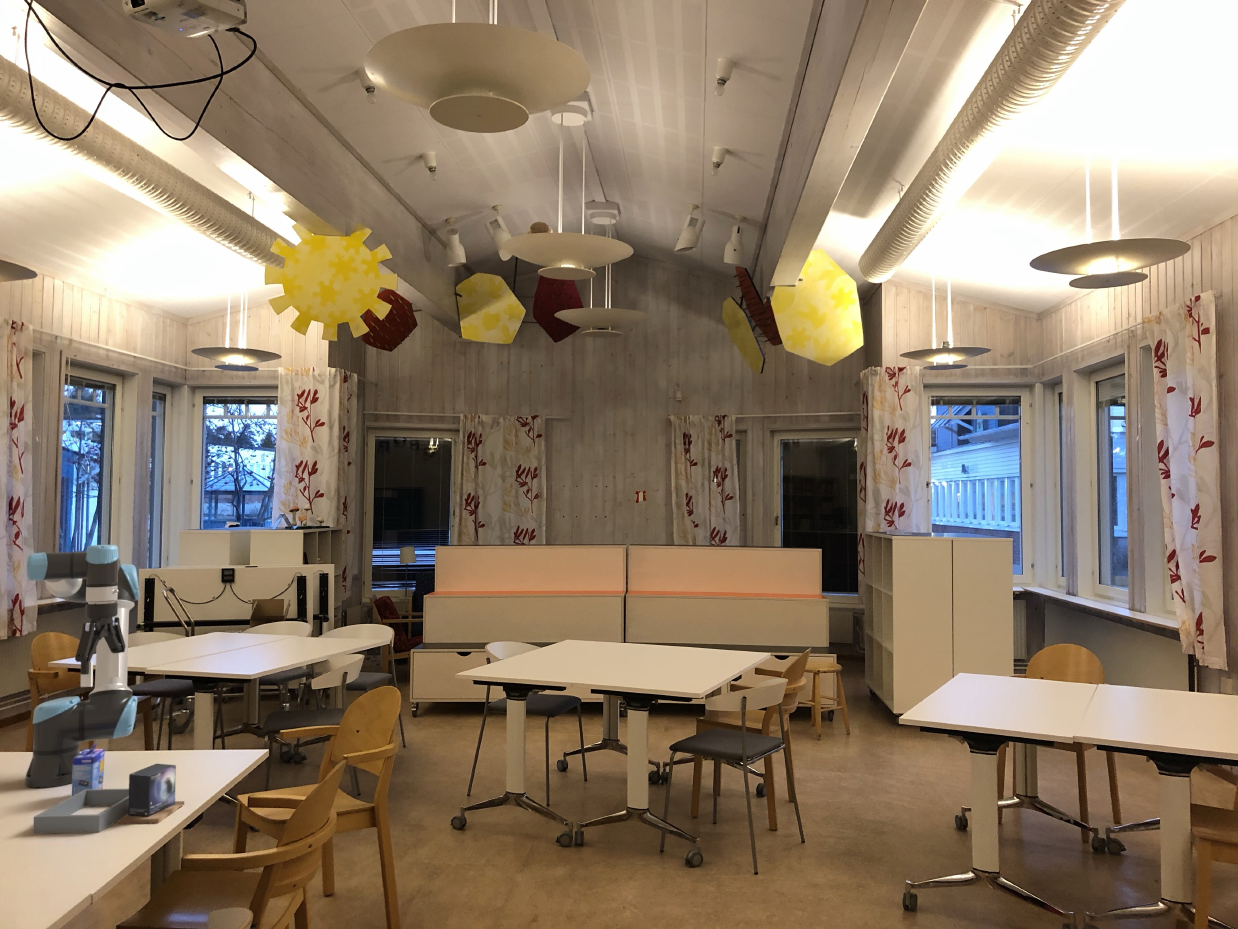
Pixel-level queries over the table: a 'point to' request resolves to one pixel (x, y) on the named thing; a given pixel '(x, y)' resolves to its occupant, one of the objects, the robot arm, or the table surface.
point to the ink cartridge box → (88, 770)
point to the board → (153, 818)
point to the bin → (64, 822)
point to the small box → (151, 789)
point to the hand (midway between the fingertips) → (100, 681)
